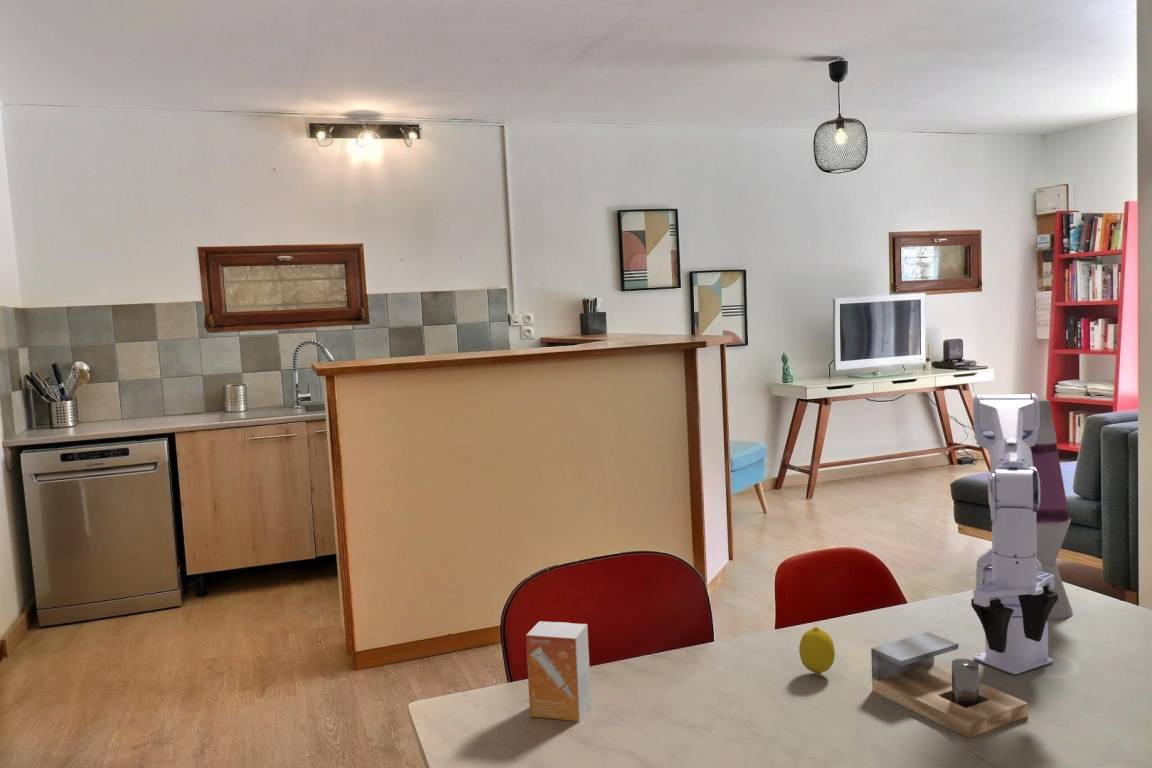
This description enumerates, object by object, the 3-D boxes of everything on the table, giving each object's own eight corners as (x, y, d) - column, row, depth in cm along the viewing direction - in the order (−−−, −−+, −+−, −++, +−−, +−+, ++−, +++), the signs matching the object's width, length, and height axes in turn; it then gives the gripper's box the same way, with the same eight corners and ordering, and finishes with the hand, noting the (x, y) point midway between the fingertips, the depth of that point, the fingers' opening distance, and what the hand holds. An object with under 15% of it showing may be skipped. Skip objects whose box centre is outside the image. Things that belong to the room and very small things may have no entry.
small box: (529, 717, 136) (524, 634, 135) (543, 699, 142) (538, 619, 141) (580, 722, 134) (575, 638, 133) (592, 704, 140) (588, 622, 139)
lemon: (836, 682, 143) (835, 633, 142) (800, 681, 144) (799, 633, 143) (833, 668, 148) (832, 621, 147) (799, 667, 149) (797, 620, 149)
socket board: (928, 673, 144) (927, 632, 144) (1028, 716, 128) (1027, 670, 128) (872, 690, 139) (871, 648, 139) (969, 738, 123) (968, 690, 123)
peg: (961, 702, 133) (961, 656, 133) (984, 711, 130) (984, 664, 130) (946, 709, 131) (946, 663, 131) (969, 718, 128) (968, 671, 128)
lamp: (1001, 600, 176) (999, 397, 172) (1060, 600, 174) (1059, 395, 170) (1018, 619, 165) (1016, 404, 162) (1082, 620, 163) (1081, 402, 160)
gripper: (1003, 568, 121) (1004, 665, 123) (1073, 550, 128) (1074, 642, 129) (960, 556, 128) (962, 648, 129) (1029, 539, 134) (1030, 628, 135)
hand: (1015, 644), depth 129 cm, fingers open, 7 cm apart
